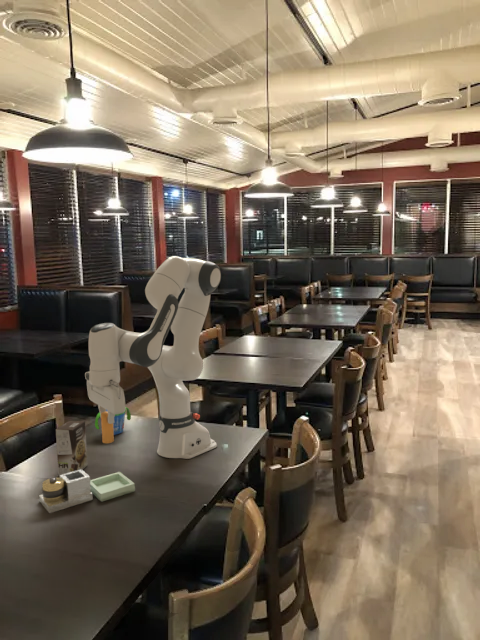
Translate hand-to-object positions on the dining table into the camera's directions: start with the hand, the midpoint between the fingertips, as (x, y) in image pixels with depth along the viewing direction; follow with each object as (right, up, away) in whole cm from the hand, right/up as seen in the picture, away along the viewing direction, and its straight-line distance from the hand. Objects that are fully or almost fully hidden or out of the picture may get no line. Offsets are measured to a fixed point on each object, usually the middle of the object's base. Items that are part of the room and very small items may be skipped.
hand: (107, 420), depth 164 cm
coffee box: (-16, -21, +18) cm, 32 cm away
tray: (0, -22, +3) cm, 23 cm away
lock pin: (0, -7, +1) cm, 7 cm away
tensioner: (-12, -24, -3) cm, 26 cm away
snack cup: (-11, -15, +54) cm, 57 cm away
